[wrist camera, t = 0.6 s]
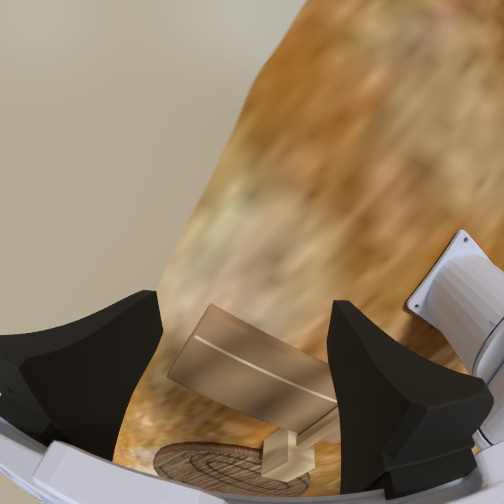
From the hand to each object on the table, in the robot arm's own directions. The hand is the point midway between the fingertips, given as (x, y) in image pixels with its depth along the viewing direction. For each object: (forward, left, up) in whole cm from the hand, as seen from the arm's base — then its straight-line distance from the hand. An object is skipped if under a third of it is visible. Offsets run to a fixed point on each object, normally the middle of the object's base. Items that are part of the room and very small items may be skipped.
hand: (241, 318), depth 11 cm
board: (-10, +11, -10) cm, 18 cm away
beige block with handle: (-15, +15, -10) cm, 24 cm away
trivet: (-17, +36, -11) cm, 41 cm away
